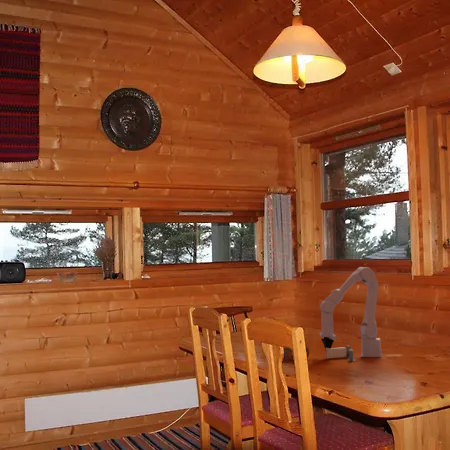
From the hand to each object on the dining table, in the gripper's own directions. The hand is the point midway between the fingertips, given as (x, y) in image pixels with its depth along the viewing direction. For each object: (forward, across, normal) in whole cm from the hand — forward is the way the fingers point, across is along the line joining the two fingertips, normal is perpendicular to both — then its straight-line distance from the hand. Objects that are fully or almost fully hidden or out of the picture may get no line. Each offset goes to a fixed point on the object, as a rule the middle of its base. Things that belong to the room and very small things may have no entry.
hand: (328, 352), depth 306 cm
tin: (+3, -2, -18) cm, 18 cm away
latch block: (+2, +11, +6) cm, 13 cm away
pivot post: (+2, +2, +10) cm, 10 cm away
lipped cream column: (+2, +2, +3) cm, 4 cm away
